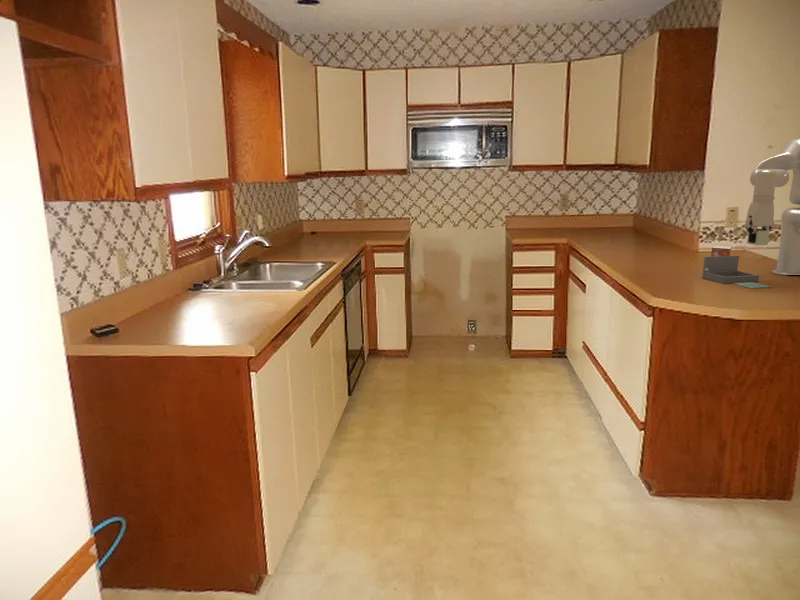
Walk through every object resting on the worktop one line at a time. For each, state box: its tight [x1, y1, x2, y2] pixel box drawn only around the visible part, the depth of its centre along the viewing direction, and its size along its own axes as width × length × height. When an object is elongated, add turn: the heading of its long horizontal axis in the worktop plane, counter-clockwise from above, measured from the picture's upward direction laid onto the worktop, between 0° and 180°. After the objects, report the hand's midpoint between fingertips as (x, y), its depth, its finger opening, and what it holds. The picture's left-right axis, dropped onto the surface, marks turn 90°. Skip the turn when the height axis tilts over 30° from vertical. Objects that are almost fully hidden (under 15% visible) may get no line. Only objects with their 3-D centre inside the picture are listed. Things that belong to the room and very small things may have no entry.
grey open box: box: [701, 254, 760, 285], centre depth 273 cm, size 18×15×10 cm
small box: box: [710, 245, 732, 257], centre depth 288 cm, size 8×6×13 cm
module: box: [746, 228, 770, 246], centre depth 257 cm, size 5×6×6 cm
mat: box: [732, 282, 771, 289], centre depth 262 cm, size 10×10×1 cm
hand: (757, 241), depth 257 cm, fingers closed on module, 5 cm apart
